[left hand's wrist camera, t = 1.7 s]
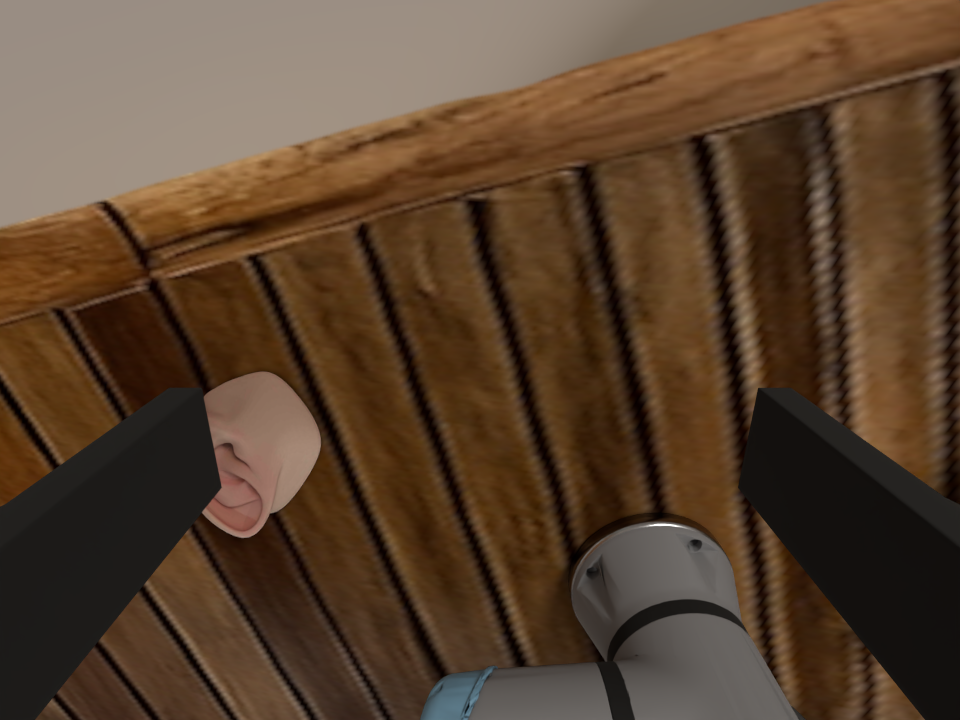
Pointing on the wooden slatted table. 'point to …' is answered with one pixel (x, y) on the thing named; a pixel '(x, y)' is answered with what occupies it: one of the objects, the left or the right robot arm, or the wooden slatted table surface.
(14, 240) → the wooden slatted table surface
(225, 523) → the anatomical model
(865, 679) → the wooden slatted table surface
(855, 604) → the left robot arm
